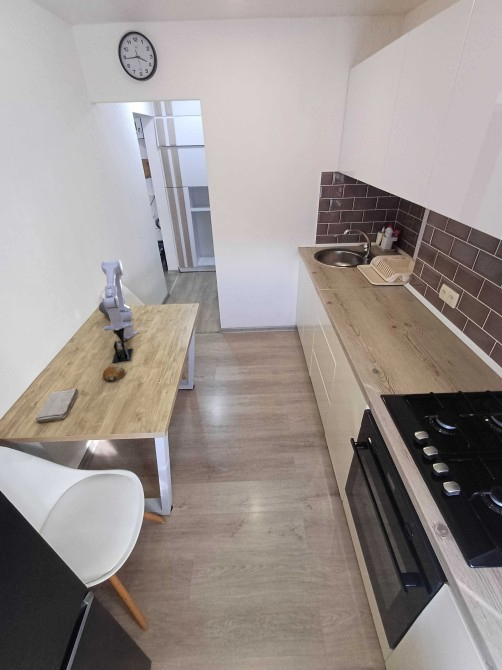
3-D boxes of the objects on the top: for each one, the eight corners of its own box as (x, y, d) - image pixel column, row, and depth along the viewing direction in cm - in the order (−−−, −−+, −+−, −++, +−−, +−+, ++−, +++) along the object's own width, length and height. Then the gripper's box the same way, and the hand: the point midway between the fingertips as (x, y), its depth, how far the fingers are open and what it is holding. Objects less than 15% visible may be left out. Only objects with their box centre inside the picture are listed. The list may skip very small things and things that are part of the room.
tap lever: (118, 343, 175) (117, 339, 174) (128, 342, 175) (127, 338, 175) (115, 349, 165) (114, 345, 165) (124, 348, 166) (123, 343, 165)
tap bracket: (116, 352, 174) (111, 338, 170) (133, 349, 176) (129, 336, 171) (113, 364, 165) (108, 350, 160) (130, 361, 166) (126, 347, 162)
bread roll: (129, 379, 159) (129, 364, 158) (114, 384, 150) (115, 368, 148) (113, 376, 162) (113, 360, 161) (97, 380, 152) (98, 364, 151)
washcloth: (36, 424, 131) (33, 419, 130) (52, 394, 146) (49, 389, 145) (66, 419, 133) (63, 414, 131) (79, 391, 148) (76, 386, 146)
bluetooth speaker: (131, 321, 204) (127, 307, 199) (117, 327, 198) (113, 312, 193) (113, 311, 217) (109, 298, 212) (100, 316, 211) (96, 303, 206)
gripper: (99, 323, 162) (107, 345, 169) (129, 319, 164) (135, 341, 171) (102, 317, 168) (109, 339, 175) (130, 313, 170) (136, 335, 177)
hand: (122, 339), depth 174 cm, fingers closed
